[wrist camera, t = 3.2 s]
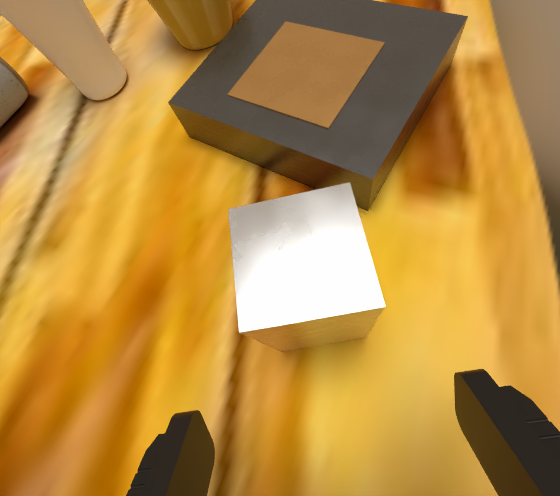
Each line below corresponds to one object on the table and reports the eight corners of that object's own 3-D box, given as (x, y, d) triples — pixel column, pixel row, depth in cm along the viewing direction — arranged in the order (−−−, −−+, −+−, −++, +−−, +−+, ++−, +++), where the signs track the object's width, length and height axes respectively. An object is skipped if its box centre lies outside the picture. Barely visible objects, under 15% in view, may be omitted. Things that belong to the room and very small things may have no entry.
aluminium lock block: (365, 337, 20) (385, 306, 11) (281, 351, 20) (239, 332, 12) (345, 254, 22) (348, 176, 14) (270, 269, 23) (227, 203, 14)
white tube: (114, 112, 33) (-48, -79, 19) (68, 103, 35) (-109, -75, 21) (146, 66, 35) (20, -136, 21) (100, 60, 37) (-42, -128, 23)
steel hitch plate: (189, 136, 29) (167, 101, 26) (277, 26, 33) (269, -18, 29) (368, 210, 23) (373, 178, 19) (450, 64, 27) (468, 14, 23)
